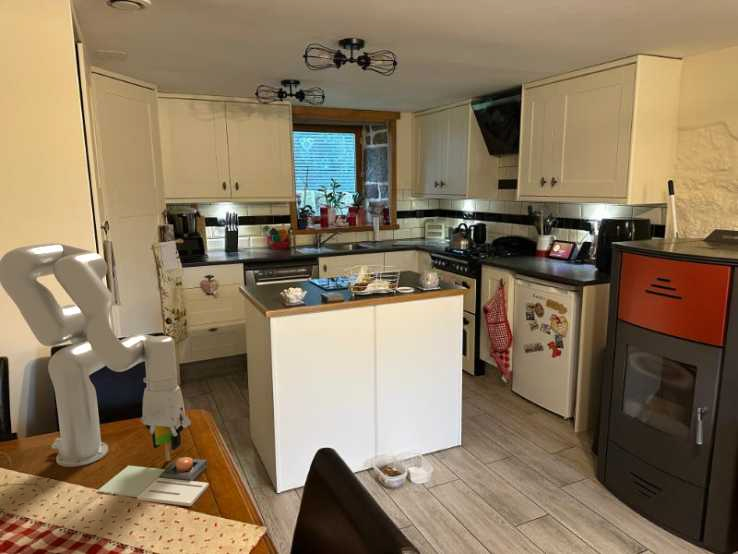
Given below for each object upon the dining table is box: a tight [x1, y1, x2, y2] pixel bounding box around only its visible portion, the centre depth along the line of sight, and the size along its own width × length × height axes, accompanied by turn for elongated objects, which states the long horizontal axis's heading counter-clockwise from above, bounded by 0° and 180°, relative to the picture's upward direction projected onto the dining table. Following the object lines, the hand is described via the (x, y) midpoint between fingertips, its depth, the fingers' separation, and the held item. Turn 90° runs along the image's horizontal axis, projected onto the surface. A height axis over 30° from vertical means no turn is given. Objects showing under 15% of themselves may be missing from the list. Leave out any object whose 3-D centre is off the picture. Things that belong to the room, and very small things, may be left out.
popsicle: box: [154, 426, 177, 462], centre depth 139 cm, size 6×2×15 cm, turn 127°
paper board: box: [136, 477, 210, 507], centre depth 125 cm, size 14×9×1 cm, turn 79°
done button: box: [175, 456, 193, 472], centre depth 133 cm, size 4×4×2 cm
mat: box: [96, 465, 167, 498], centre depth 130 cm, size 11×12×1 cm
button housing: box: [161, 456, 208, 481], centre depth 133 cm, size 8×8×2 cm
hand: (167, 446), depth 139 cm, fingers closed on popsicle, 4 cm apart
